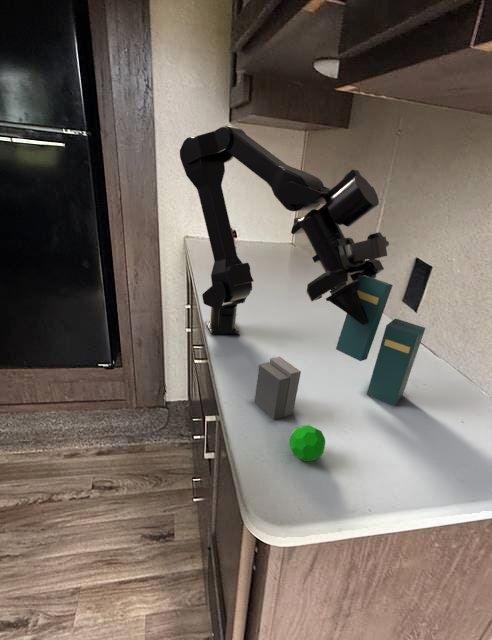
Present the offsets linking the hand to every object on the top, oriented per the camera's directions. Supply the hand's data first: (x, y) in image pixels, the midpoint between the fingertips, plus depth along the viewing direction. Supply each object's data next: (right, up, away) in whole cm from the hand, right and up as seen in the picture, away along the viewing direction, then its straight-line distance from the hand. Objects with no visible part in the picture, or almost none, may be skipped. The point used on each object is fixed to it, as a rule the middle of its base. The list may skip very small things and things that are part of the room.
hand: (369, 321), depth 70 cm
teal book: (-3, -6, +4) cm, 7 cm away
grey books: (-17, -15, -4) cm, 23 cm away
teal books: (+4, -13, +5) cm, 15 cm away
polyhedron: (-12, -21, -13) cm, 28 cm away
